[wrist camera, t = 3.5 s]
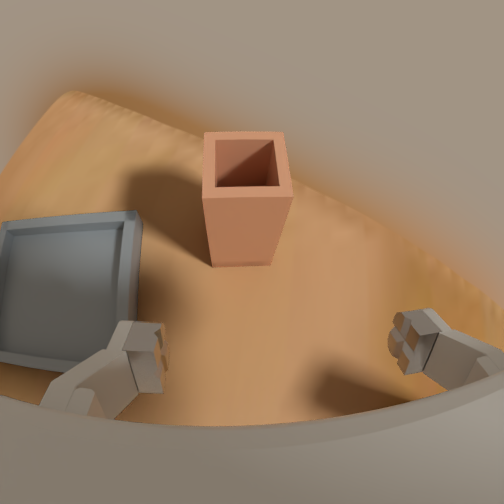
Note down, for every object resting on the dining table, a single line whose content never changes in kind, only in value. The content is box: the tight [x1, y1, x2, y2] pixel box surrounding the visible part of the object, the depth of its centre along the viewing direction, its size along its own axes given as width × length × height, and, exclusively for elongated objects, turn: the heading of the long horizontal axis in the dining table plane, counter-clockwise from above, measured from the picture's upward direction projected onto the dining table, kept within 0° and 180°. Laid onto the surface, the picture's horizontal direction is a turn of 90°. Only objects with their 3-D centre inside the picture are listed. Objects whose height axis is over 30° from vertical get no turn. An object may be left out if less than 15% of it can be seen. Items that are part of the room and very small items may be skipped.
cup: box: [202, 132, 294, 267], centre depth 23 cm, size 5×5×11 cm
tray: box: [0, 210, 143, 373], centre depth 23 cm, size 14×16×2 cm
